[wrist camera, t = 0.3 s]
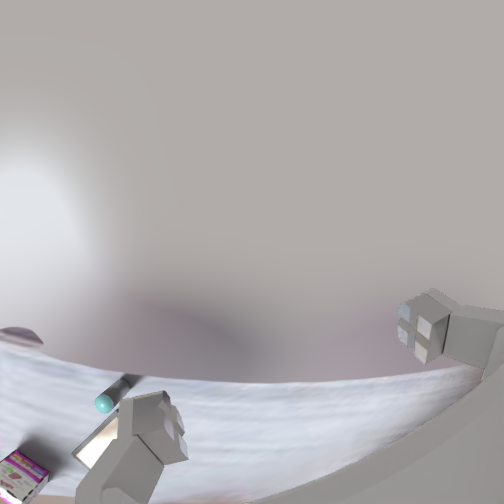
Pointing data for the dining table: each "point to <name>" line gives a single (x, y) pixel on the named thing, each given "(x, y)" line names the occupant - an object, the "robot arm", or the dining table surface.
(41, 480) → the candy bar box
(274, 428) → the dining table surface
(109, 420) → the framed mirror
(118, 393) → the ball
